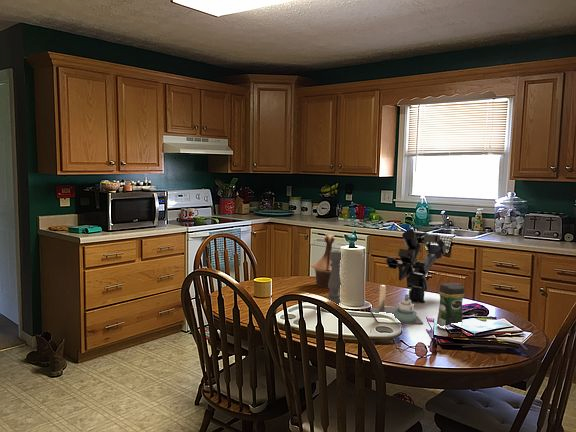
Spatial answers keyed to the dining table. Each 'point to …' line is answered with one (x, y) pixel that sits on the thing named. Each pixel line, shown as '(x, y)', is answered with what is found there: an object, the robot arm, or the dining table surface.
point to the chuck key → (403, 306)
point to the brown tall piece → (324, 264)
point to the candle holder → (334, 277)
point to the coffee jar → (450, 303)
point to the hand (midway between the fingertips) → (399, 280)
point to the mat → (394, 312)
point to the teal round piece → (405, 316)
